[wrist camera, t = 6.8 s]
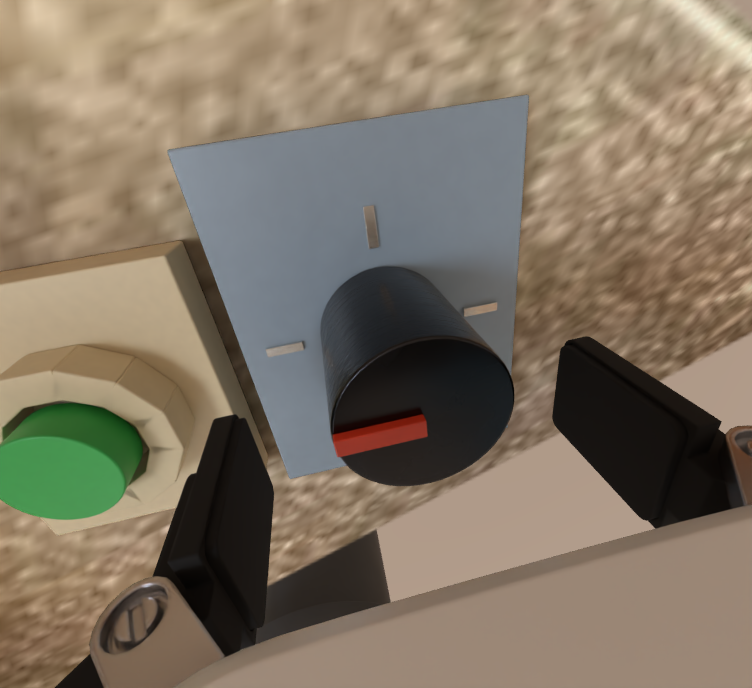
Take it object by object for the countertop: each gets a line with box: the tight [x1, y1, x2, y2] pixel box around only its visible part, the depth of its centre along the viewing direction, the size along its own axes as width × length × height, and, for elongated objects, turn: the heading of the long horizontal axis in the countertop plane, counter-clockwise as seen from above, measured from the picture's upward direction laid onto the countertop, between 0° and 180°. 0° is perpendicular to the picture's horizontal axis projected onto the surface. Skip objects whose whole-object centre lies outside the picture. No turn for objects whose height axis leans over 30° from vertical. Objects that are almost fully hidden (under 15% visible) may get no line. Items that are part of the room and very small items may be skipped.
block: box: [0, 241, 268, 535], centre depth 15 cm, size 12×10×4 cm
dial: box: [320, 266, 514, 486], centre depth 12 cm, size 5×5×6 cm
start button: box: [0, 403, 143, 520], centre depth 13 cm, size 4×4×2 cm
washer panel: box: [167, 95, 529, 479], centre depth 16 cm, size 14×11×3 cm
